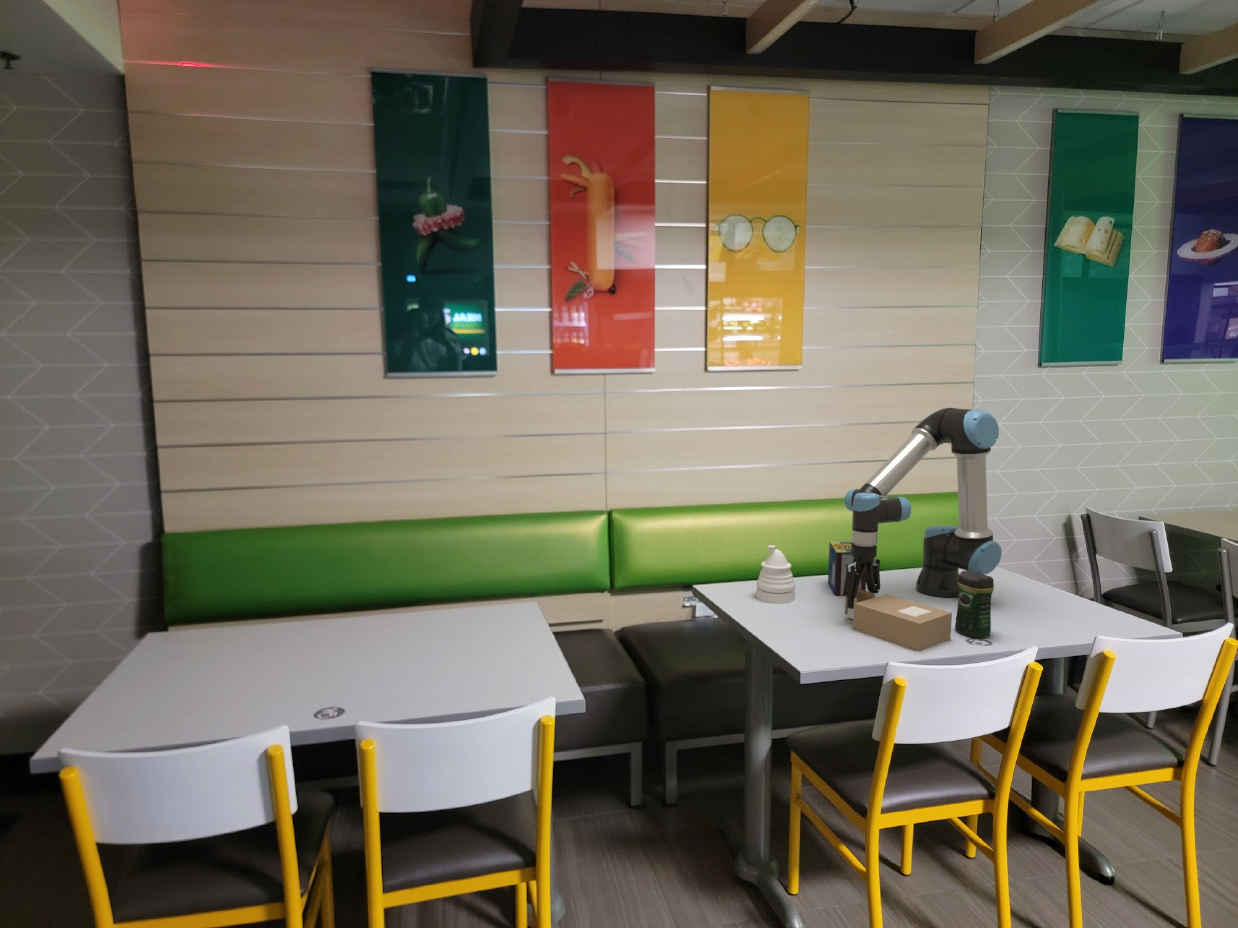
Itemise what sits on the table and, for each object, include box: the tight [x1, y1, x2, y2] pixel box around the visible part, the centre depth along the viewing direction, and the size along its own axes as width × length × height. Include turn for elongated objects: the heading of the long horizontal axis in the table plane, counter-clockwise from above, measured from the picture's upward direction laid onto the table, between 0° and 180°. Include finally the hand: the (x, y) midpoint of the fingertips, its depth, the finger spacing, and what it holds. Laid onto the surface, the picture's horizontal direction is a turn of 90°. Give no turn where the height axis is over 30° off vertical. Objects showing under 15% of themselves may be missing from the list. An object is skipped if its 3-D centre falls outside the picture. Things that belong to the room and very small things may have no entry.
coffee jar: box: [954, 570, 995, 639], centre depth 239 cm, size 10×8×19 cm
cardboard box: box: [852, 593, 953, 652], centre depth 238 cm, size 16×22×8 cm
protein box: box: [827, 540, 867, 597], centre depth 282 cm, size 10×15×16 cm
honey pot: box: [755, 544, 796, 605], centre depth 272 cm, size 13×13×18 cm
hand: (860, 615), depth 250 cm, fingers open, 8 cm apart
